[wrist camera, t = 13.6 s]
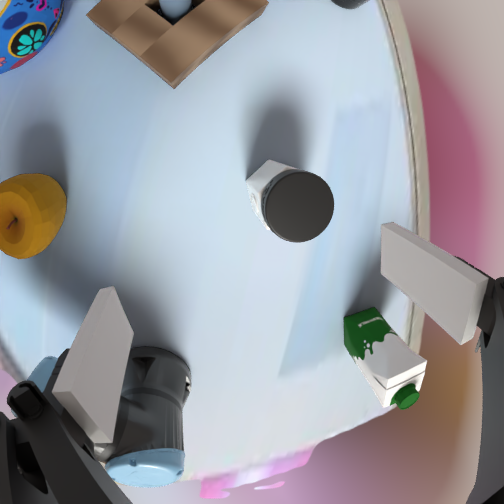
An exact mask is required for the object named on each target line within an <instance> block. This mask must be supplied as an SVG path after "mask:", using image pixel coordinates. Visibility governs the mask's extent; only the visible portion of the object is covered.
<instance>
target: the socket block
mask: <svg viewBox="0 0 504 504" xmlns="http://www.w3.org/2000/svg"><path fill="white" fill-rule="evenodd" d="M191 3H192V4H193V5H195V6H196V8H194V9H193V10H192V11H191V12H189V13H188V14H187V15H186V16H184V17H183V18H182V19H181V20H179V21H178V22H177V23H176V24H175V25H171V24H170V23H169V22H168V21H166V20H165V19H164V18H162V17H161V16H160V15H158V14H157V13H156V11H157V10H158V9H159V8H161V6H160V2H159V0H101V1H100V2H99V3H98V4H97V5H96V6H95V7H94V8H93V9H91V10H90V11H89V12H88V13H87V14H86V16H87V17H88V18H89V19H90V20H91V21H92V22H93V23H94V24H95V25H96V26H97V27H99V28H100V29H101V30H103V31H104V32H105V33H106V34H108V35H109V36H110V37H112V38H113V39H114V40H115V41H117V42H118V43H119V44H121V45H122V46H123V47H124V48H126V49H127V50H128V51H129V52H131V53H132V54H133V55H134V56H135V57H137V58H138V59H139V60H140V61H142V62H143V63H144V64H145V65H146V66H148V67H149V68H150V69H151V70H152V71H154V72H155V73H156V74H157V75H158V76H159V77H161V78H162V79H163V80H164V81H165V82H166V83H168V84H169V85H170V86H171V87H172V88H173V89H175V88H176V87H177V86H178V85H179V84H180V83H181V82H182V81H183V80H184V79H185V78H186V77H187V76H188V75H189V74H190V73H191V72H192V71H193V70H195V69H196V68H197V67H198V66H199V65H200V64H201V63H202V62H203V61H204V60H206V59H207V58H208V57H209V56H210V55H211V54H212V53H214V52H215V51H216V50H217V49H218V48H219V47H221V46H222V45H223V44H224V43H225V42H227V41H228V40H229V39H230V38H232V37H233V36H234V35H235V34H237V33H238V32H239V31H240V30H242V29H243V28H244V27H246V26H247V25H248V24H250V23H251V22H252V21H254V20H255V19H256V18H258V17H259V16H260V15H261V14H262V13H263V11H264V10H265V8H266V6H267V5H268V3H269V2H268V1H267V0H191Z"/></svg>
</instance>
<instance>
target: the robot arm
mask: <svg viewBox="0 0 504 504" xmlns="http://www.w3.org/2000/svg"><path fill="white" fill-rule="evenodd" d="M381 274H382V275H383V276H384V277H385V278H387V279H388V280H389V281H390V282H391V283H393V284H394V285H395V286H396V287H397V288H398V289H399V290H401V291H402V292H403V293H404V294H405V295H406V296H407V297H409V298H410V299H411V300H412V301H413V302H414V303H415V304H417V305H418V306H419V307H420V308H421V309H422V310H423V311H424V312H425V313H427V314H428V315H429V316H430V317H431V318H432V319H433V320H434V321H435V322H437V323H438V324H439V325H440V326H441V327H442V328H443V329H444V330H445V331H446V332H447V333H448V334H450V336H451V337H453V338H454V339H455V340H456V341H457V342H458V343H459V344H460V345H462V344H464V343H465V342H467V341H469V340H470V339H472V338H473V336H474V333H475V330H476V326H478V327H479V328H480V329H481V330H482V331H481V334H480V337H479V340H478V343H477V346H476V349H475V352H477V351H478V349H479V347H480V346H481V359H482V381H483V412H482V413H483V414H482V433H481V445H480V455H479V463H478V471H477V477H476V482H475V485H474V488H473V490H472V492H471V494H470V495H469V498H468V500H467V502H466V504H504V277H500V278H497V279H496V280H494V279H493V278H491V277H490V276H488V275H487V274H485V273H483V272H482V271H481V270H479V269H477V268H474V266H473V265H471V264H468V262H466V261H464V260H462V259H461V258H459V257H456V256H453V255H451V254H449V253H447V252H446V251H444V250H442V249H441V248H439V247H437V246H435V245H434V244H432V243H430V242H429V241H427V240H425V239H423V238H421V237H420V236H418V235H416V234H414V233H412V232H411V231H409V230H407V229H405V228H403V227H401V226H400V225H398V224H396V223H394V222H391V223H387V224H382V225H381ZM133 335H134V332H133V330H132V328H131V326H130V323H129V321H128V319H127V317H126V314H125V312H124V310H123V307H122V305H121V303H120V300H119V298H118V295H117V293H116V290H115V288H114V286H111V287H107V288H102V289H100V290H99V291H98V293H97V295H96V297H95V299H94V301H93V303H92V305H91V307H90V309H89V311H88V313H87V315H86V317H85V319H84V321H83V323H82V325H81V327H80V329H79V331H78V333H77V335H76V337H75V339H74V341H73V344H72V346H71V348H69V349H66V350H65V351H64V352H63V353H62V354H61V355H60V356H59V358H56V357H53V356H48V357H45V358H44V359H43V360H42V361H41V362H40V363H39V364H38V365H37V367H36V368H35V369H34V371H33V372H32V373H31V375H30V376H29V378H28V379H27V381H22V382H20V383H18V384H17V385H16V386H15V387H13V388H12V390H11V391H10V392H9V394H8V397H7V404H8V405H9V406H10V408H11V412H12V413H13V415H14V416H15V417H17V418H16V419H12V420H9V419H8V418H7V417H6V416H5V414H3V412H0V504H132V502H131V501H130V500H129V499H128V498H127V497H126V496H125V494H124V493H123V492H122V491H121V489H120V488H119V487H118V486H117V485H116V483H115V482H114V481H116V482H119V483H121V484H125V485H129V486H134V487H160V486H165V485H169V484H171V483H173V482H175V481H177V480H178V479H179V478H180V477H181V476H182V474H183V471H184V458H185V453H184V444H183V418H182V409H183V407H184V405H185V402H186V400H187V398H188V396H189V393H190V390H191V373H190V370H189V368H188V367H187V365H186V364H185V363H184V362H183V361H182V360H181V359H180V358H179V357H178V356H176V355H174V354H173V353H171V352H169V351H166V350H163V349H160V348H155V347H138V348H133V349H130V348H131V343H132V339H133ZM99 461H100V462H103V463H105V469H104V468H103V467H102V465H101V464H100V462H99ZM105 470H106V471H105ZM112 479H113V480H114V481H113V480H112Z"/></svg>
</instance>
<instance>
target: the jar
mask: <svg viewBox="0 0 504 504" xmlns="http://www.w3.org/2000/svg"><path fill="white" fill-rule="evenodd" d="M246 185H247V189H248V193H249V197H250V201H251V205H252V210H253V211H254V213H255V214H256V215H257V217H258V218H259V219H260V221H261V222H262V224H263V225H264V226H265V228H266V229H268V230H271V231H272V232H274V233H275V234H276V235H277V236H278V237H280V238H282V239H284V240H286V241H290V242H305V241H308V240H311V239H313V238H315V237H317V236H318V235H319V234H321V233H322V232H323V231H324V230H325V228H326V227H327V226H328V224H329V223H330V220H331V218H332V215H333V211H334V198H333V194H332V192H331V189H330V187H329V186H328V184H327V183H326V182H325V181H324V180H323V179H322V178H321V177H320V176H317V175H316V174H313V173H311V172H308V171H305V170H301V169H298V168H295V167H292V166H289V165H286V164H283V163H279V162H276V161H273V160H267V161H266V162H265V163H264V164H263V165H262V166H261V167H260V168H259V169H258V170H257V171H256V172H254V173H253V174H252V175H251V176H250V177H249V178H248V179H247V180H246Z"/></svg>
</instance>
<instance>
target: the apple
mask: <svg viewBox="0 0 504 504" xmlns="http://www.w3.org/2000/svg"><path fill="white" fill-rule="evenodd" d="M66 205H67V198H66V196H65V193H64V191H63V189H62V188H61V186H60V185H59V184H58V182H57V181H56V180H54V179H53V178H52V177H50V176H48V175H44V174H40V173H34V174H20V175H17V176H14V177H12V178H9V179H7V180H5V181H3V182H2V183H0V250H2V251H3V252H4V253H5V254H7V255H9V256H12V257H15V258H17V259H25V258H30V257H32V256H35V255H37V254H39V253H40V252H41V251H43V250H44V249H46V247H47V246H48V245H49V244H50V243H51V242H52V240H53V239H54V237H55V236H56V235H57V233H58V231H59V229H60V227H61V225H62V223H63V220H64V217H65V213H66Z"/></svg>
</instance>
